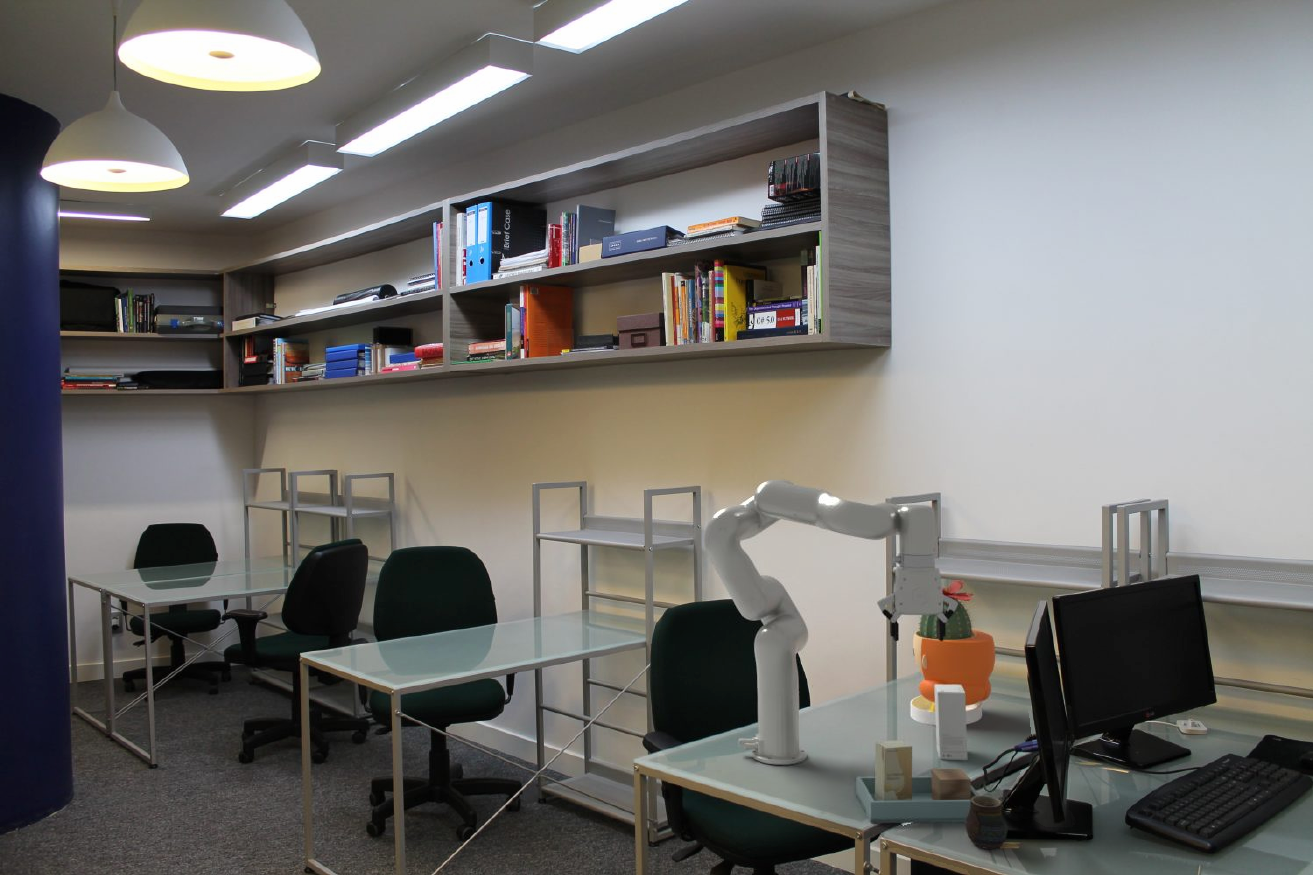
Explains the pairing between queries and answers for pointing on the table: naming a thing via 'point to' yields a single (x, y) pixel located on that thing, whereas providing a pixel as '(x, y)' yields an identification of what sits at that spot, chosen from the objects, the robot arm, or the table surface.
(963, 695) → the skincare box
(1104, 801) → the table surface
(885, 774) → the skincare box
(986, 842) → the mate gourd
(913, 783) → the teal tray
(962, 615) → the potted cactus
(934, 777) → the walnut block
